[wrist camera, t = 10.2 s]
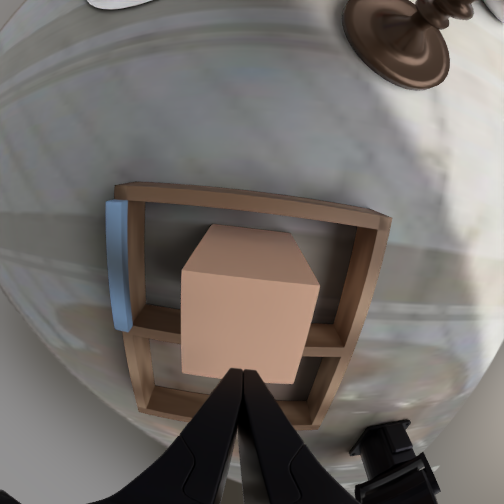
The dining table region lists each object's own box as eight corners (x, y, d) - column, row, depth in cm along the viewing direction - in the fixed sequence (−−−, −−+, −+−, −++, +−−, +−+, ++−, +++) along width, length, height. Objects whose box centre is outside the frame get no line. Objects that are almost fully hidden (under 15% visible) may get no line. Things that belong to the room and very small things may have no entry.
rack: (312, 406, 22) (319, 436, 19) (146, 389, 22) (135, 418, 18) (371, 209, 17) (398, 220, 13) (134, 181, 16) (106, 186, 12)
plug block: (278, 302, 19) (293, 383, 11) (206, 294, 19) (182, 372, 11) (290, 233, 17) (320, 285, 10) (212, 223, 17) (181, 270, 9)
